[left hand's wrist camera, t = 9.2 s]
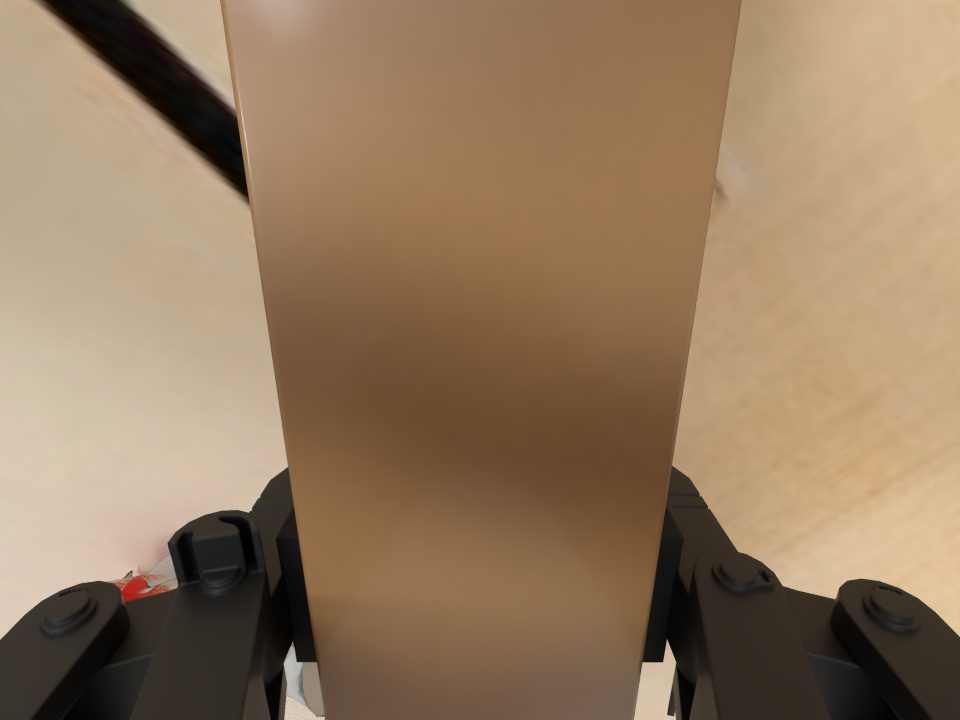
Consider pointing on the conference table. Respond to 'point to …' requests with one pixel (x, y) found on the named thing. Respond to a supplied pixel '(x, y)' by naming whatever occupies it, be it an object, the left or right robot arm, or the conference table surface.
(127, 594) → the fish
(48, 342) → the conference table surface
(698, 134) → the bar
